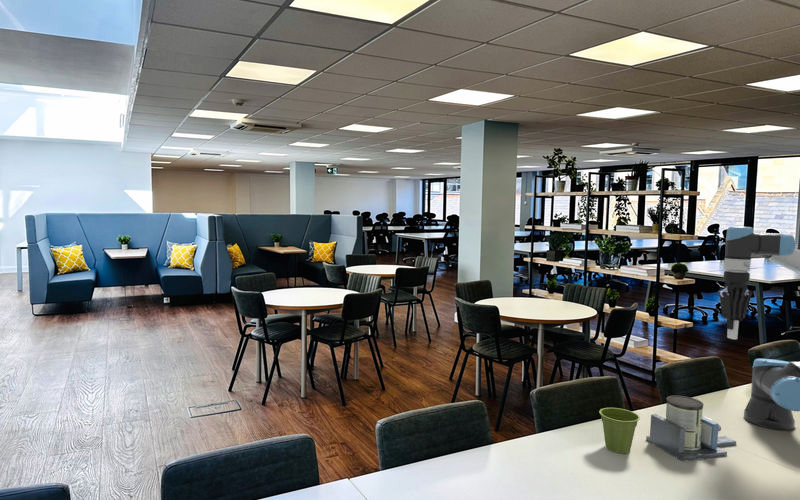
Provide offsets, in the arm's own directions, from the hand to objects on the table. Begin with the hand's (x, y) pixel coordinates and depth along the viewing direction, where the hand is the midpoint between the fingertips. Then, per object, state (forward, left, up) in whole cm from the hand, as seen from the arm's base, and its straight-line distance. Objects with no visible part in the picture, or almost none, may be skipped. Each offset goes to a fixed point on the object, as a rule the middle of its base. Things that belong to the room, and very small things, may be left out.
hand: (732, 338), depth 177 cm
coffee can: (+27, +9, -31) cm, 43 cm away
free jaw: (+18, +9, -31) cm, 37 cm away
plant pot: (+49, +5, -33) cm, 59 cm away
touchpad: (+7, -8, -33) cm, 35 cm away
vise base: (+22, +9, -32) cm, 40 cm away
